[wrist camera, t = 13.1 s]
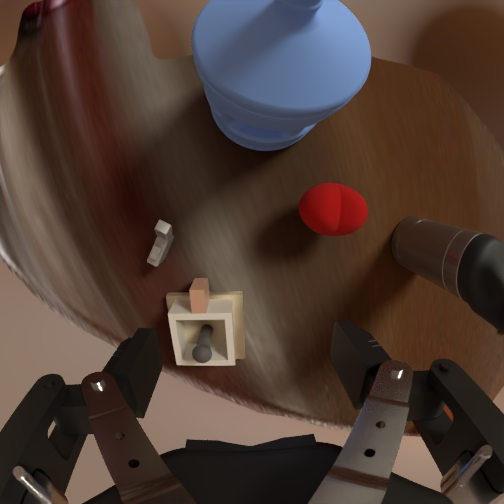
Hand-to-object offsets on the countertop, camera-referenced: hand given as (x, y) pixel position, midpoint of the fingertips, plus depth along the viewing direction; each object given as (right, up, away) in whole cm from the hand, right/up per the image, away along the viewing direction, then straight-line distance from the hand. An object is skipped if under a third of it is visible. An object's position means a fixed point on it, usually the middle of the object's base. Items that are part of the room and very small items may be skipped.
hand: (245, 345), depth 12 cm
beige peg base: (-7, -8, +32) cm, 34 cm away
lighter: (-12, +6, +29) cm, 32 cm away
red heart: (+10, +11, +29) cm, 33 cm away
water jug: (+2, +26, +25) cm, 37 cm away
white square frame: (-7, -6, +30) cm, 32 cm away
